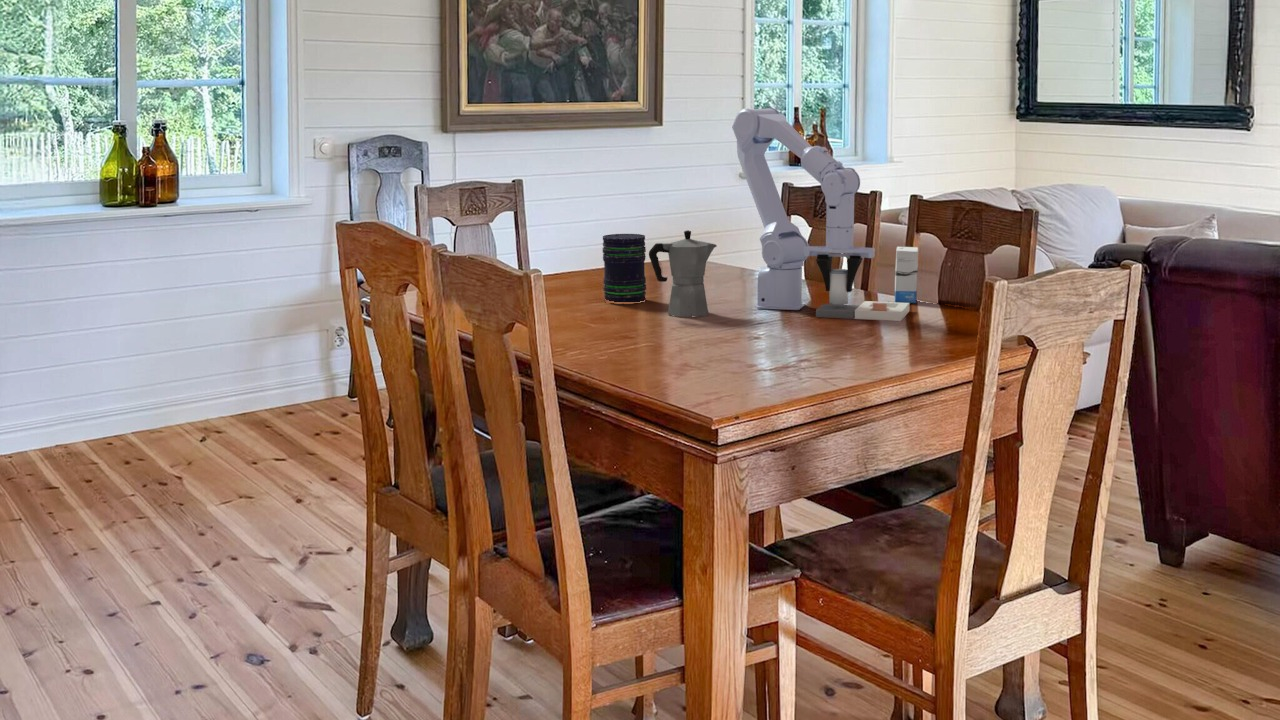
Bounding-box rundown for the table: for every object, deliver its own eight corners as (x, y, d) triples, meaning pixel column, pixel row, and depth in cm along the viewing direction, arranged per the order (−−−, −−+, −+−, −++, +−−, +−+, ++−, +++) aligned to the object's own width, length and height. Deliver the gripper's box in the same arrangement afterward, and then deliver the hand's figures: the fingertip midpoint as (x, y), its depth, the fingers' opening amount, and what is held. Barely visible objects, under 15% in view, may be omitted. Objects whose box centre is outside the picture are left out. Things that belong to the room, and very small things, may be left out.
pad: (815, 316, 269) (815, 309, 268) (823, 310, 276) (823, 303, 276) (853, 318, 266) (853, 311, 266) (860, 312, 273) (860, 305, 273)
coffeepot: (707, 308, 281) (707, 226, 277) (725, 315, 273) (725, 231, 269) (642, 313, 276) (641, 230, 272) (657, 320, 267) (656, 234, 264)
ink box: (917, 303, 283) (918, 250, 280) (894, 303, 284) (895, 250, 281) (916, 297, 291) (918, 246, 289) (894, 297, 292) (896, 245, 290)
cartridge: (827, 304, 269) (827, 271, 268) (831, 301, 273) (832, 268, 272) (845, 305, 268) (846, 272, 266) (850, 301, 272) (850, 269, 270)
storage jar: (654, 301, 291) (654, 236, 288) (618, 306, 285) (617, 239, 282) (630, 296, 299) (629, 232, 296) (595, 300, 294) (593, 235, 290)
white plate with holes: (854, 318, 266) (854, 310, 266) (864, 309, 277) (864, 301, 277) (900, 320, 263) (901, 312, 262) (909, 311, 274) (909, 302, 273)
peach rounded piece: (871, 318, 266) (872, 304, 265) (873, 316, 268) (874, 302, 268) (885, 319, 265) (885, 305, 264) (887, 317, 267) (887, 303, 267)
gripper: (801, 227, 266) (800, 292, 269) (871, 229, 261) (869, 295, 264) (808, 224, 272) (808, 287, 275) (877, 225, 267) (875, 289, 270)
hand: (838, 290), depth 270 cm, fingers closed on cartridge, 4 cm apart
